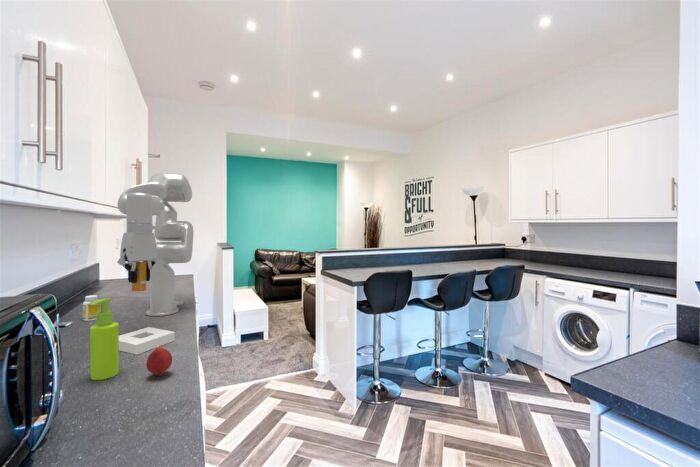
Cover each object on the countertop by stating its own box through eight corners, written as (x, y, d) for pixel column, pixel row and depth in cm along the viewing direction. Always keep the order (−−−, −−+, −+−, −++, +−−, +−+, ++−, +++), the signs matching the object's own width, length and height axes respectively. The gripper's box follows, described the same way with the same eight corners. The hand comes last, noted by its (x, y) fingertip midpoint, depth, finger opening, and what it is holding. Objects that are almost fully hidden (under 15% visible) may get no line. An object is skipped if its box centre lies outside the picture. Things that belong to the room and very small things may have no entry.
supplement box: (147, 289, 113) (147, 261, 112) (140, 291, 109) (140, 262, 109) (138, 289, 113) (138, 261, 113) (131, 291, 109) (131, 262, 109)
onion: (160, 381, 80) (160, 350, 80) (140, 379, 82) (140, 348, 81) (177, 371, 86) (177, 342, 86) (158, 369, 87) (158, 340, 87)
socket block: (148, 335, 114) (148, 326, 114) (174, 340, 109) (174, 331, 109) (109, 348, 102) (109, 338, 102) (136, 354, 97) (136, 344, 97)
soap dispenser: (80, 381, 80) (79, 301, 80) (105, 369, 87) (104, 296, 87) (101, 383, 79) (100, 303, 79) (124, 370, 86) (124, 297, 86)
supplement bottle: (79, 321, 129) (79, 297, 129) (88, 317, 134) (88, 294, 134) (94, 321, 130) (94, 297, 130) (102, 317, 135) (102, 294, 135)
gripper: (155, 229, 120) (155, 277, 120) (106, 228, 105) (106, 284, 105) (169, 229, 117) (168, 279, 117) (121, 228, 102) (121, 286, 102)
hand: (139, 281), depth 111 cm, fingers closed on supplement box, 4 cm apart
